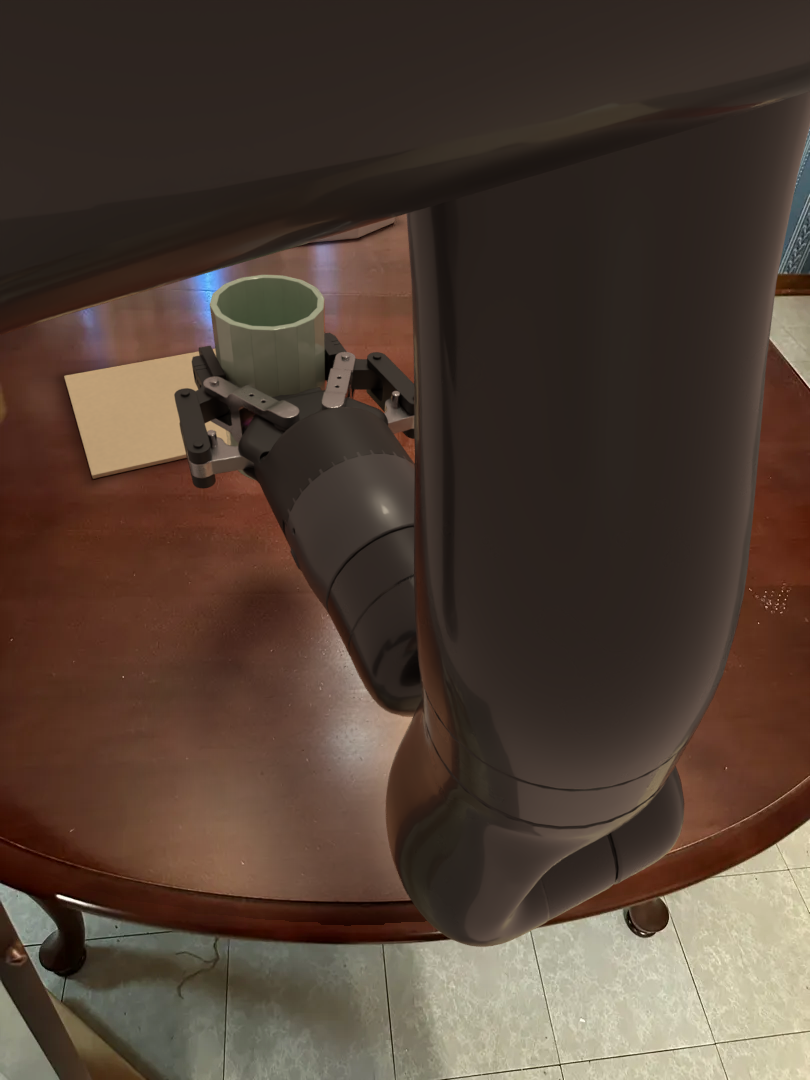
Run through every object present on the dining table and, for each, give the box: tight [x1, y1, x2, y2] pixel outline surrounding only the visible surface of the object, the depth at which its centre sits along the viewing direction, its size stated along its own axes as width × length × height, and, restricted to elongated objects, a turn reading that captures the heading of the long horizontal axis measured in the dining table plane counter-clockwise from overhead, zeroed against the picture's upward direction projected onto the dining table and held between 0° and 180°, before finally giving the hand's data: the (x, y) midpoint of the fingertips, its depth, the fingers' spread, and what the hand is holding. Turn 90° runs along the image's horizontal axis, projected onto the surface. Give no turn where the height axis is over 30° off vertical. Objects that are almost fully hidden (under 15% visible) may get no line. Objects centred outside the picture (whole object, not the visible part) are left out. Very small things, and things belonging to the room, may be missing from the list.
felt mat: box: [63, 348, 228, 480], centre depth 75 cm, size 20×16×1 cm
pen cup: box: [209, 274, 327, 481], centre depth 49 cm, size 6×6×11 cm
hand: (260, 349), depth 49 cm, fingers closed on pen cup, 6 cm apart
